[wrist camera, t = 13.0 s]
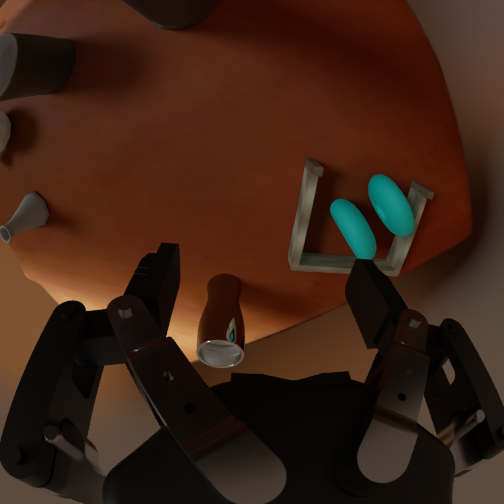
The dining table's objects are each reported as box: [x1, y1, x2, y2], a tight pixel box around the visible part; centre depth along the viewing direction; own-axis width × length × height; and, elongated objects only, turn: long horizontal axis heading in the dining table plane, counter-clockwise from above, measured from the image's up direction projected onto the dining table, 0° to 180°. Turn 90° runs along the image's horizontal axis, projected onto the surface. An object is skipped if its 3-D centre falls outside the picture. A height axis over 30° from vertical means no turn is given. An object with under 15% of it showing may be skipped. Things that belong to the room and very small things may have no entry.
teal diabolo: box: [330, 174, 415, 259], centre depth 36 cm, size 10×10×10 cm
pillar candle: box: [0, 33, 75, 101], centre depth 19 cm, size 10×10×15 cm
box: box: [288, 158, 434, 276], centre depth 40 cm, size 16×20×5 cm
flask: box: [0, 191, 49, 243], centre depth 34 cm, size 7×7×10 cm
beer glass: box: [196, 274, 245, 368], centre depth 42 cm, size 7×7×15 cm
